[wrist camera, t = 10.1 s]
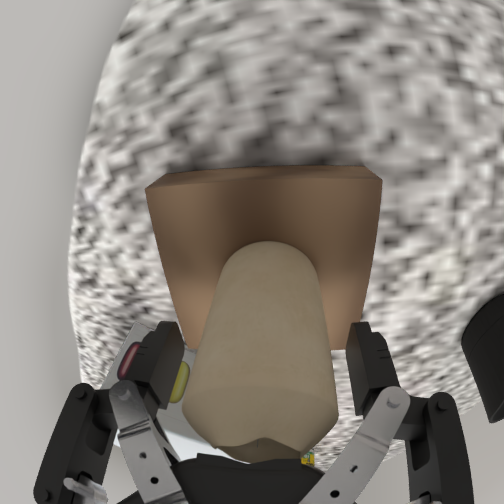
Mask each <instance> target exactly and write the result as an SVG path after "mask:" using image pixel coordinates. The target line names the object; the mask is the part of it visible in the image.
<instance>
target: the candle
mask: <svg viewBox="0 0 504 504" xmlns="http://www.w3.org/2000/svg"><path fill="white" fill-rule="evenodd" d="M182 412H183V415H184V417H185V418H186V420H187V421H188V423H189V424H190V426H191V427H192V428H193V429H194V431H195V432H196V433H197V434H198V435H199V436H200V437H202V438H203V439H204V440H206V441H207V442H208V443H209V444H210V445H211V446H212V447H213V448H214V449H215V450H216V449H217V448H218V449H220V450H221V451H223V452H224V453H226V454H227V455H228V456H230V457H231V458H233V459H235V460H238V461H242V462H247V463H256V462H262V461H267V460H272V459H301V458H302V457H303V456H304V455H305V454H306V453H308V452H309V451H310V450H311V449H312V448H313V447H314V446H315V445H316V444H317V443H318V442H319V441H321V440H322V439H323V438H324V436H325V435H326V434H327V433H328V432H329V431H330V430H331V429H332V428H333V427H334V425H335V424H336V423H337V420H338V416H339V413H338V404H337V395H336V387H335V379H334V371H333V364H332V357H331V350H330V343H329V337H328V331H327V325H326V319H325V313H324V307H323V301H322V296H321V291H320V286H319V281H318V277H317V273H316V270H315V268H314V266H313V264H312V263H311V261H310V260H309V259H308V257H307V256H306V255H305V254H304V253H302V252H301V251H300V250H298V249H297V248H295V247H293V246H291V245H288V244H285V243H281V242H275V241H262V242H256V243H252V244H249V245H246V246H244V247H242V248H241V249H239V250H238V251H236V252H235V253H234V254H233V255H232V256H231V257H230V258H229V259H228V261H227V262H226V263H225V265H224V267H223V269H222V272H221V275H220V278H219V281H218V284H217V287H216V290H215V293H214V297H213V300H212V303H211V306H210V310H209V313H208V316H207V320H206V323H205V326H204V330H203V333H202V336H201V340H200V343H199V346H198V350H197V353H196V357H195V360H194V364H193V367H192V371H191V374H190V378H189V381H188V385H187V388H186V392H185V395H184V399H183V403H182Z"/></svg>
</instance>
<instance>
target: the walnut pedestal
mask: <svg viewBox="0 0 504 504" xmlns="http://www.w3.org/2000/svg"><path fill="white" fill-rule="evenodd" d="M381 192H382V179H381V178H379V177H378V176H377V175H376V174H374V173H373V172H372V171H370V170H369V169H368V168H367V167H365V166H334V165H292V166H260V167H240V168H225V169H212V170H200V171H190V172H180V173H172V174H165V175H163V176H162V177H161V178H159V179H158V180H156V181H155V182H153V183H152V184H151V185H149V186H148V187H147V188H145V193H146V198H147V203H148V208H149V212H150V217H151V221H152V226H153V230H154V234H155V238H156V242H157V246H158V250H159V254H160V258H161V262H162V266H163V269H164V273H165V277H166V280H167V284H168V287H169V291H170V294H171V298H172V301H173V304H174V307H175V311H176V314H177V317H178V320H179V323H180V326H181V329H182V332H183V335H184V338H185V341H186V344H187V347H188V349H198V346H199V343H200V340H201V336H202V333H203V330H204V326H205V323H206V320H207V316H208V313H209V310H210V306H211V303H212V300H213V297H214V293H215V290H216V287H217V284H218V281H219V278H220V275H221V272H222V269H223V267H224V265H225V263H226V262H227V261H228V259H229V258H230V257H231V256H232V255H233V254H234V253H235V252H236V251H238V250H239V249H241V248H242V247H244V246H246V245H249V244H252V243H256V242H262V241H275V242H281V243H285V244H288V245H291V246H293V247H295V248H297V249H298V250H300V251H301V252H302V253H304V254H305V255H306V256H307V257H308V259H309V260H310V261H311V263H312V264H313V266H314V268H315V270H316V273H317V277H318V281H319V286H320V291H321V296H322V301H323V307H324V313H325V319H326V325H327V331H328V337H329V343H330V350H343V349H346V343H347V339H348V335H349V330H350V326H351V323H352V322H360V319H361V315H362V311H363V307H364V302H365V297H366V293H367V288H368V283H369V278H370V272H371V267H372V261H373V255H374V249H375V242H376V235H377V228H378V220H379V212H380V203H381Z"/></svg>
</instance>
